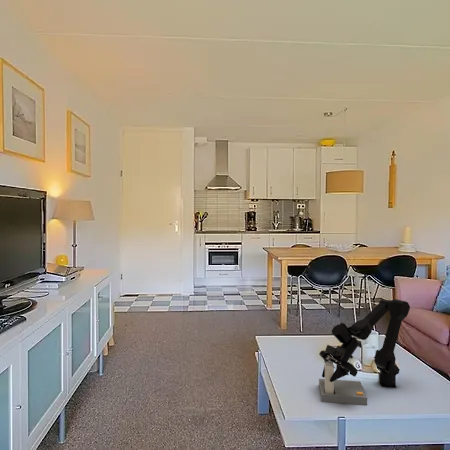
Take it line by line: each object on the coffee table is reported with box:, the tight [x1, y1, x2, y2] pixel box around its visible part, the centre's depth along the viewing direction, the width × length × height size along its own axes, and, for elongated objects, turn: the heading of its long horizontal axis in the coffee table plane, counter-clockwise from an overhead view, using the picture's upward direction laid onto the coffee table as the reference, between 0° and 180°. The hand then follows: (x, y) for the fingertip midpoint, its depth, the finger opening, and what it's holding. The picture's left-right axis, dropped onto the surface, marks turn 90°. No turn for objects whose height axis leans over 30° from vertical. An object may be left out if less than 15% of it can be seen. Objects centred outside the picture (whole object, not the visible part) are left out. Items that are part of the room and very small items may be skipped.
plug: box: [324, 362, 335, 394], centre depth 167 cm, size 3×3×13 cm
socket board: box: [318, 378, 368, 406], centre depth 171 cm, size 18×16×4 cm
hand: (326, 379), depth 167 cm, fingers closed on plug, 5 cm apart
